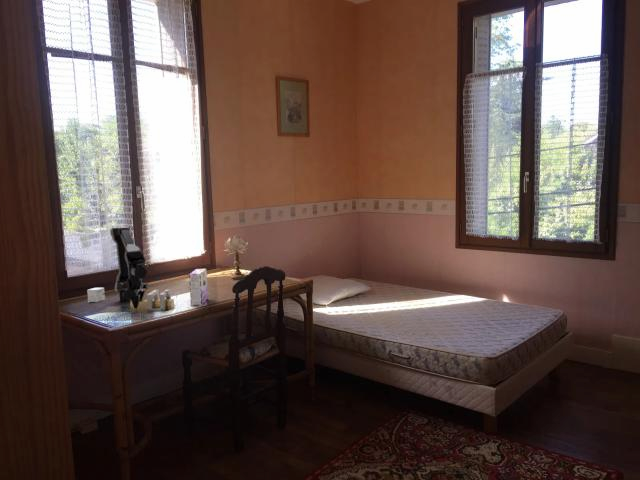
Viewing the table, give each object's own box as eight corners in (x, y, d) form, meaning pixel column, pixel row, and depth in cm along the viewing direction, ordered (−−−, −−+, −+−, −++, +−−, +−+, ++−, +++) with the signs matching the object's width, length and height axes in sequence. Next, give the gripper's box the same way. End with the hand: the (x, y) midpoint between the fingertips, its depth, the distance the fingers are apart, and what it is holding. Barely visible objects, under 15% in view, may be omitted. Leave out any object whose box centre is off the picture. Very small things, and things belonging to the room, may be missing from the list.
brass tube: (133, 307, 263) (133, 299, 263) (174, 306, 263) (173, 298, 262) (130, 309, 259) (130, 301, 259) (171, 308, 259) (171, 300, 258)
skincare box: (97, 304, 278) (96, 290, 277) (87, 303, 280) (86, 289, 279) (105, 301, 284) (104, 287, 283) (96, 300, 286) (95, 287, 285)
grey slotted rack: (108, 308, 268) (106, 290, 267) (175, 306, 267) (174, 289, 266) (97, 314, 256) (96, 296, 255) (168, 313, 255) (167, 294, 254)
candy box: (197, 299, 281) (195, 268, 279) (208, 299, 281) (207, 268, 279) (190, 306, 268) (188, 273, 266) (202, 305, 268) (200, 273, 265)
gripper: (125, 272, 269) (128, 302, 271) (110, 279, 250) (113, 312, 252) (147, 271, 268) (150, 302, 270) (134, 279, 250) (136, 312, 252)
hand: (137, 307), depth 261 cm, fingers closed on brass tube, 4 cm apart
